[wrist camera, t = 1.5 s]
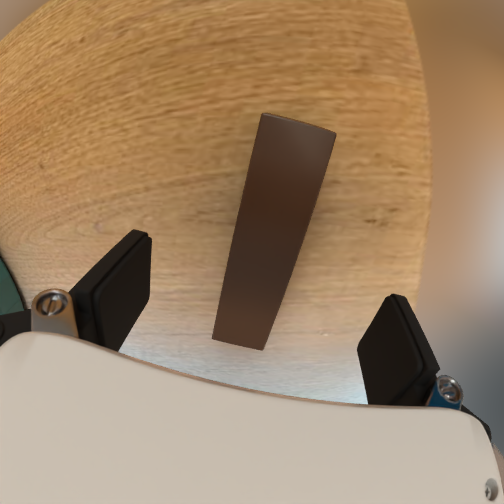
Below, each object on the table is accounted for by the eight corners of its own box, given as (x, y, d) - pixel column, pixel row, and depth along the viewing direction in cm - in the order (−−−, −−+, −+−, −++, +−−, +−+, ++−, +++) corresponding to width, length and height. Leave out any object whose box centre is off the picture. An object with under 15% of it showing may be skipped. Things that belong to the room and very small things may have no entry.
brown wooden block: (265, 112, 13) (261, 112, 10) (324, 128, 13) (337, 133, 10) (222, 302, 19) (211, 339, 16) (266, 312, 19) (263, 351, 16)
